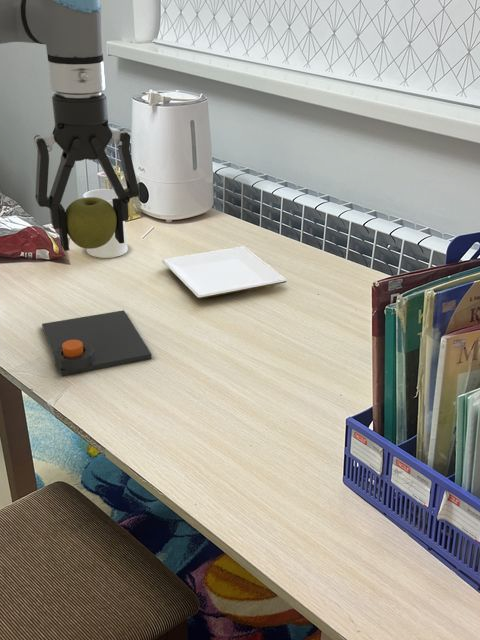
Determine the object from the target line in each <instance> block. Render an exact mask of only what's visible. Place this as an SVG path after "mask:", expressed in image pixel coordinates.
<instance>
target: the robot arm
mask: <svg viewBox="0 0 480 640" xmlns="http://www.w3.org/2000/svg"><path fill="white" fill-rule="evenodd" d="M101 10H102V6H101V3H100V0H0V45H3V44H8V43H9V44H10V43H27V44H28V43H29V44H30V43H31V44H39V45H45V49H46V54H47V63H48V71H49V83H50V90H52V91H53V92H54V94H53V95H52V96H51V101H52V110H53V118H54V128H53V130H52V133H51V134H47V135H42V136H41V135H40V134H37V135H35V136H34V137H33V141H34V144H35V148H36V151H37V157H36V174H35V175H36V176H35V195H34V199H35V202H36V203H37V205H38V206H39V207H41V208H48V209H49V216H50V224H51V225H52V227H53V229H54V230H58V233H59V241H60V246H61V248H62V249H63V251H70V245H69V235H68V234H67V225H66V216H65V211H66V209H65V208H64V206H63V204H62V200H63V197H64V193H65V190H66V188H67V184H68V182H69V179H70V175H71V172H72V169H73V168H74V166H75V163H76V162H80V161H84V160H91V161H96V160H97V162H98V163H99V164H100V167H101V168H102V171H103V173H104V174H105V177H106V178H107V180H108V182H109V183H110V185H111V187H112V190H114V191H115V193H116V195H117V196H118V199H117V198H114V199H112V201H113V208H114V210H115V212H116V216H117V225H116V229H115V238H116V239H117V241H118V242H119V243H120V244H121V243H124V231H123V221H125V222H127V221H128V222H129V218H130V214H129V203H130V202H131V201H130V200H131V199H133V198H137V197H139V196H140V189H139V185H138V180H137V176H136V172H135V168H134V163H133V158H132V154H131V149H130V148H131V139H132V138H131V137H132V136H131V134H130V133H129V132H127V130H125V129H120V130H113V129H111V127H110V124H109V117H108V116H109V115H108V101H107V96H106V94H104V93H103V92H104V91H105V90H106V87H107V86H106V77H105V66H104V65H105V64H104V54H103V43H102V41H103V39H102V17H101V16H102V15H101ZM111 140H113V143H114V145H116V146H117V151H118V156H119V159H120V164H121V168H122V172H123V176H124V181H125V184H126V188H125V187H124V186H123V184H122V182H121V181H120V179H119V177H118V175H117V173H116V171H115V169H114V167H113V165H112V164H111V162H110V161H111V160H110V159H109V157H108V155H107V153H106V152H105V150H106V148H107V147H108V144H109V143H110V142H111ZM55 143H56V144H57V145H58V147H60V149H61V150H62V153H61V156H60V162H59V165H58V168H57V171H56V175H55V177H54V181H53V183H52V187H51V190H50V193H49V196H48V186H49V185H48V184H49V183H48V182H49V169H50V168H49V167H50V153H49V152H51V151H52V150H53V145H54V144H55Z"/></svg>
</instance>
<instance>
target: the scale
mask: <svg viewBox="0 0 480 640" xmlns="http://www.w3.org/2000/svg"><path fill="white" fill-rule="evenodd" d="M41 327H42V331H43V333H44V336H45V338H46V342H47V343H48V346H49V348H50V351H51V354H52V361H53V363H54V365H55V367H56V368H58V371H59V373H60V376H61V377H65V376H70V375H75V374H79V373H85V372H90V371H94V370H95V371H96V370H100V369H106V368H112V367H115V366H120V365H125V364H126V365H127V364H131V363H136V362H141V361H146V360H152V352H151V351H150V350H149V347H148V346H147V344H146V343H145V341H144V340H143V338H142V337H141V335H140V333H139V332H138V330H137V328H136V327H135V326H134V323H133V322H132V321H131V318H129V316H128V314H127V312H126V311H125V310H124V309H123V310H117V311H110V312H105V313H99V314H92V315H87V316H80V317H75V318H69V319H63V320H56V321H50V322H44V323H41ZM68 340H79V341H81V342H82V343H83V354H82V355H80V356H77V357H65V356H64V355H63V348H62V344H63V343H64V342H66V341H68Z"/></svg>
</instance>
